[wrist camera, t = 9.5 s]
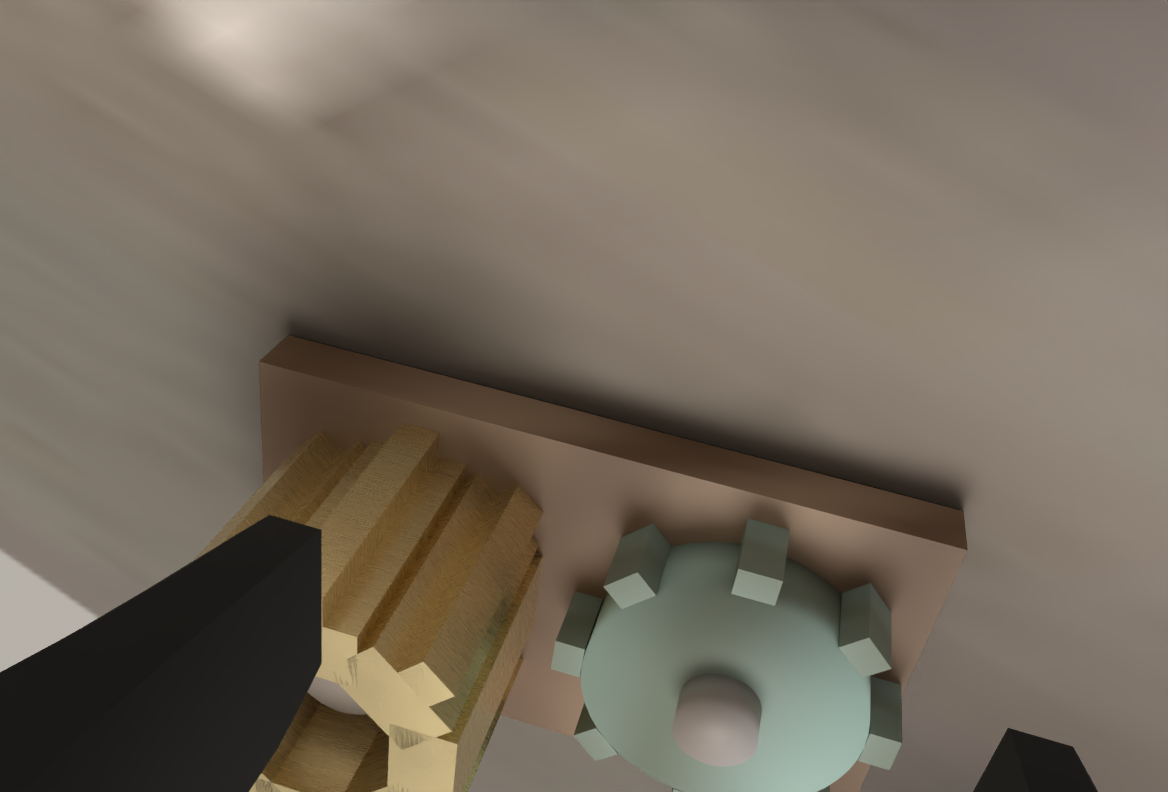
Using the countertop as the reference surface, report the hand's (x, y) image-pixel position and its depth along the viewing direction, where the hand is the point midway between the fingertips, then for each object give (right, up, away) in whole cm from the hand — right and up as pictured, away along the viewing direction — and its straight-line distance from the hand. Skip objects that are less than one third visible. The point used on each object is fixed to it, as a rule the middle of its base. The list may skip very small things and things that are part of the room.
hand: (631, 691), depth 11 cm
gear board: (0, -1, +12) cm, 12 cm away
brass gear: (-4, 0, +11) cm, 12 cm away
